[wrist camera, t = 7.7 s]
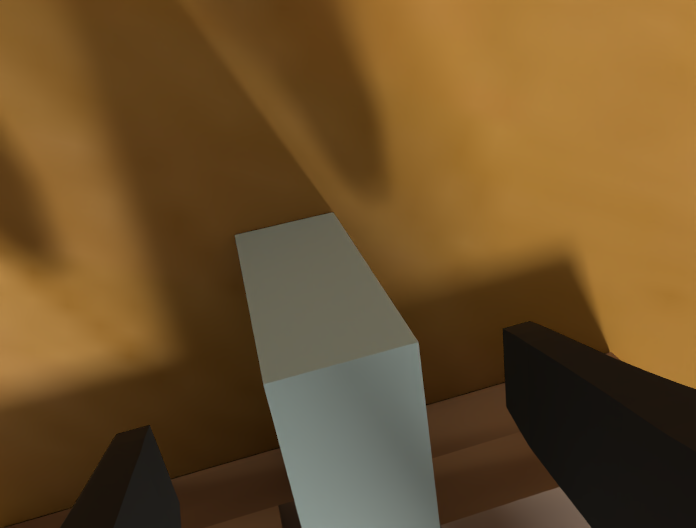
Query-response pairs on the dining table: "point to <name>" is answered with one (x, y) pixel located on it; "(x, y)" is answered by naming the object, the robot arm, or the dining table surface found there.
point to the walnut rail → (448, 466)
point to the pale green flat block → (338, 379)
